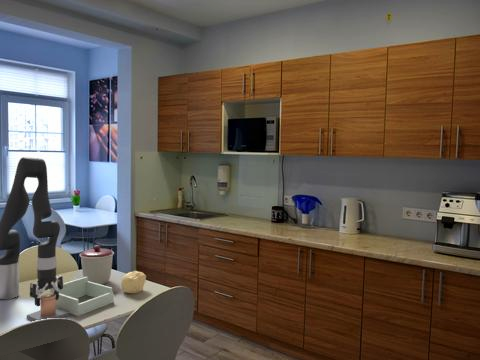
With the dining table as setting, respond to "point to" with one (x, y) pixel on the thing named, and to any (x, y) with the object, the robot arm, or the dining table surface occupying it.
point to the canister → (97, 264)
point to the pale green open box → (82, 288)
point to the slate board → (38, 316)
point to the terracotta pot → (48, 304)
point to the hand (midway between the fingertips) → (47, 302)
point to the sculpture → (133, 282)
